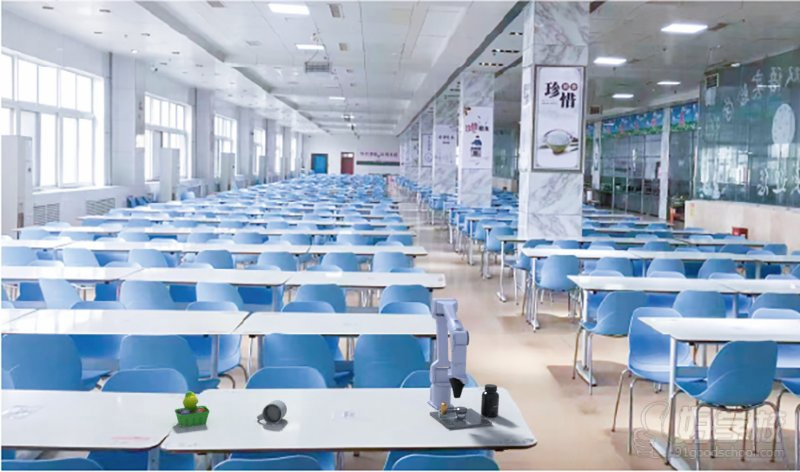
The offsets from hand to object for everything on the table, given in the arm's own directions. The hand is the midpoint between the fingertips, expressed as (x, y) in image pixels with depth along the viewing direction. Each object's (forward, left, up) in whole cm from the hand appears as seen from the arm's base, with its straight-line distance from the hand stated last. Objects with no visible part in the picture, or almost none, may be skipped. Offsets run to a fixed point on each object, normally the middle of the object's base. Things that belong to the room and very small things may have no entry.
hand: (457, 397), depth 293 cm
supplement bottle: (-6, +17, -11) cm, 21 cm away
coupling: (-4, +1, -7) cm, 9 cm away
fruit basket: (-27, -94, -11) cm, 99 cm away
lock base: (-4, +4, -10) cm, 12 cm away
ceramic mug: (-22, -66, -11) cm, 70 cm away
